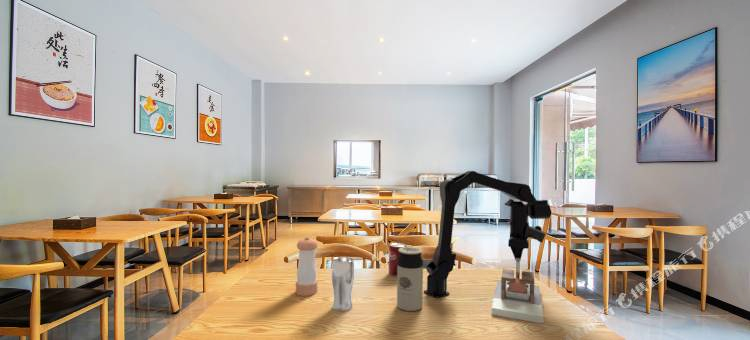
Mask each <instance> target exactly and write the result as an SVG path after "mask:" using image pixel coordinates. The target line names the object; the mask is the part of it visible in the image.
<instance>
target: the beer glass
mask: <svg viewBox="0 0 750 340" xmlns="http://www.w3.org/2000/svg"><path fill="white" fill-rule="evenodd" d="M354 260H355V259H354V258H352V257H349V256H337V257H334V258H332V261H331V283H332V288H333V297H334V299H333V303H332V304H333V305H332V309H333V310H334V311H335V312H336V311H337V312H348V311H350V310H352V308H353V302H352V301H353V300H352V292H353V291H352V290H353V285H354V279H355V263H354Z"/></svg>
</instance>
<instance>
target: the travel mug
mask: <svg viewBox="0 0 750 340" xmlns="http://www.w3.org/2000/svg"><path fill="white" fill-rule="evenodd" d="M399 253H400V256H399V258H398V267H397V276H396V279H397V281H396V284H397V285H396V305H397V307H398V308H399V309H401V310H403V311H405V312H406V311H407V312H415V311H419V310H420V309H422V308H423V293H424V290H423V288H424V287H423V284H424V281H423V279H424V276H423V275H424V272H423V271H424V260H423V258H422V253H423V249H422V248H421V247H414V246H413V247H412V246H407V247H403V248H400V249H399Z"/></svg>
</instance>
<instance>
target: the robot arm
mask: <svg viewBox="0 0 750 340" xmlns="http://www.w3.org/2000/svg"><path fill="white" fill-rule="evenodd" d="M472 184H477V185H479V186H483V187H486V188H489V189H492V190H496V191H498V192H501V193H502V194H504V195H505V196H507V197H509V199H508V201H506V202H505V203H504V206H507V207H510V222H509V226H510V227H509V229H510V230H509V238H508V247H509V248H510V251H511V252H512V254H513V257H514V260H515V261H516V258H520V261H521V260H522V255H523V252H524V250H525V249H527V250H528V249H529V242H530V241H529V238H532V239H533V240H536V241H538V242H539V243H543V242H544V240H545V237H546V235H547V234H546V232H545V231H544V230H542V226H539V225H536V226H530V223H529V218H530V219H531V220H548V219H550V217H551V216H552V209H551V207H550V204H549V203H548V201H549V200H548V199H537V198H536V197H535V196H534V194H533V193H532V189H531V186H530V185H529V184H526V183H519V182H511V181H505V180H501V179H498V178H496V177H492V176H489V175H486V174H482V173H479V172H477V171H475V170H467V171H466V172H464V173H462V174H460V175H457V176H454V177H453V178H451V179H444V180H442V181H441V182H440V184H439V197H440V202H441V210H440V211H441V213H440V221H439V222H440V223H439V231H438V244H437V246H436V247H435V250H434V252H433V256H432V260H431V261H430V262H428V263H427V265H426V266H425V268H426V272H427V273H428V275H427V277H426V289H425V290H423V293H425V294H427V295H429V296H431V297H434V298H436V299H437V298H441V297H445V296H448V295H450V292H449V291H447V287H448V285H447V283H448V281H447V279H448V277H449V275H450V273H451V272H452V271H453V270H454V266H455V267H456V257H457V253H455V252H454V251H453V250H452V237H453V231H454V230H453V229H454V219H455V208H456V205H457V202H458V201H459V199H460V195H461V191H464V190H465V189H467V188H468V187H469V186H471V185H472ZM514 200H515V201H514ZM517 200H518V201H517Z"/></svg>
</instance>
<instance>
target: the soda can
mask: <svg viewBox="0 0 750 340" xmlns="http://www.w3.org/2000/svg"><path fill="white" fill-rule="evenodd" d="M403 247H408V246H407V244H405V243H401V242H395V243H390V244H389V245H388V274H389V275H390V276H393V277H397V267H398V258H399V256H400V253H399V249H400V248H403Z"/></svg>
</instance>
